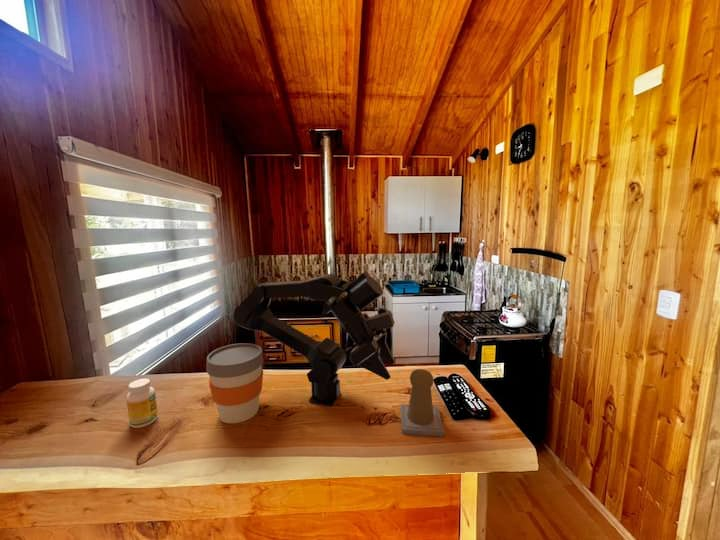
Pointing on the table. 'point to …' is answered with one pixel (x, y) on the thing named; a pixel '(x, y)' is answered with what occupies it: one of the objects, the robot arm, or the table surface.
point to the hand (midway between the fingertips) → (391, 370)
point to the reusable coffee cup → (236, 380)
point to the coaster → (430, 429)
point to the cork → (421, 398)
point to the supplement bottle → (141, 403)
